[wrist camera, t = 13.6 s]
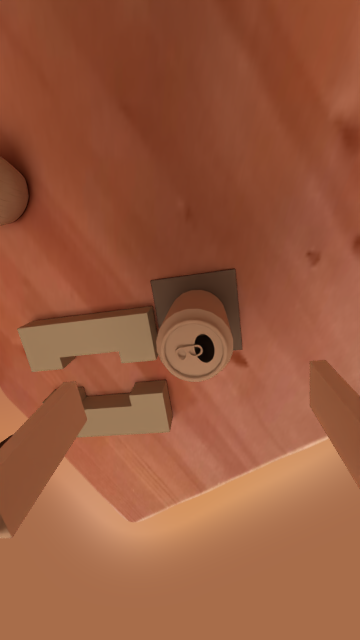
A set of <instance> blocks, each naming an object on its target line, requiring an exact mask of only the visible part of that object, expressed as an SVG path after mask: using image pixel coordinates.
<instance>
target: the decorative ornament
mask: <svg viewBox="0 0 360 640" xmlns="http://www.w3.org/2000/svg"><path fill="white" fill-rule="evenodd" d="M28 198H29V195H28V188H27V184H26V180H25V178H24V177H23V176H22V174H21V173H20V172H19V171H18V170H16V169H15V168H14V167H13V166H12V165H11V164H10V163H9V162H8V161H6V160H5V159H3V158H2V157H0V225H5V224H9V223H12V222H14V221H15V220H17V219H18V218H19V217H20V216H21V215H22V213H23V212H24V210H25V208H26V206H27V202H28Z"/></svg>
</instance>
